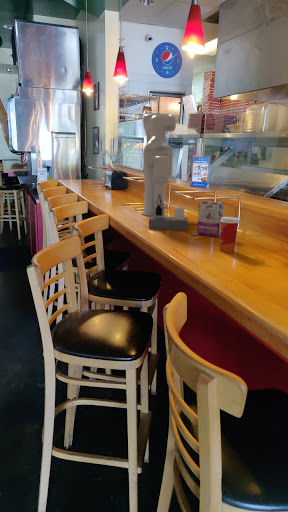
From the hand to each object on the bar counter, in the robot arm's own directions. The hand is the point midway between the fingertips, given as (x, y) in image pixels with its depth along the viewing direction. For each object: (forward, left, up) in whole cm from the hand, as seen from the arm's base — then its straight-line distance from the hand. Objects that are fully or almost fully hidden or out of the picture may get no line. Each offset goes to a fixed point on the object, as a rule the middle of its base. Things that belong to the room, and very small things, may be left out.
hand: (159, 213), depth 195 cm
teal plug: (0, 0, -7) cm, 7 cm away
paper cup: (+41, +32, -7) cm, 52 cm away
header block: (0, +5, -7) cm, 9 cm away
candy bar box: (+12, +26, -8) cm, 30 cm away
